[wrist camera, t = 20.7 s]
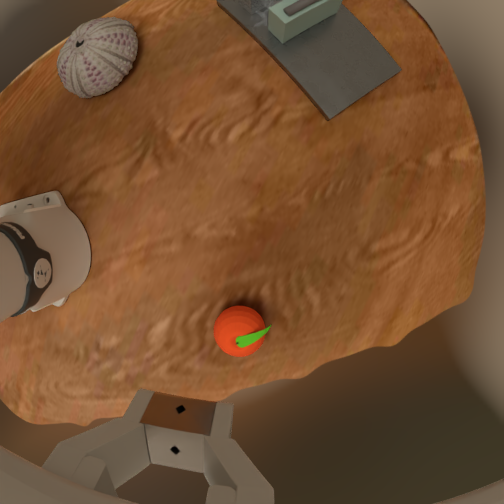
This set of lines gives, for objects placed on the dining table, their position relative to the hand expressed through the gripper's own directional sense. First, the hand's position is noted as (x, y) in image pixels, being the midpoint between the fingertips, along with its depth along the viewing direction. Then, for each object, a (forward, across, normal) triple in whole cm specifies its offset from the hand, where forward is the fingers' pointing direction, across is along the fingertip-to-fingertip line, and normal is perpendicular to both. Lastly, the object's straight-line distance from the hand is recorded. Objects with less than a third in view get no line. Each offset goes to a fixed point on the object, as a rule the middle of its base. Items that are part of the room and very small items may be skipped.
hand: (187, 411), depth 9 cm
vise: (+34, -6, -30) cm, 46 cm away
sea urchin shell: (+34, +24, -25) cm, 49 cm away
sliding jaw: (+32, -5, -31) cm, 45 cm away
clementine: (+34, -1, +12) cm, 36 cm away
